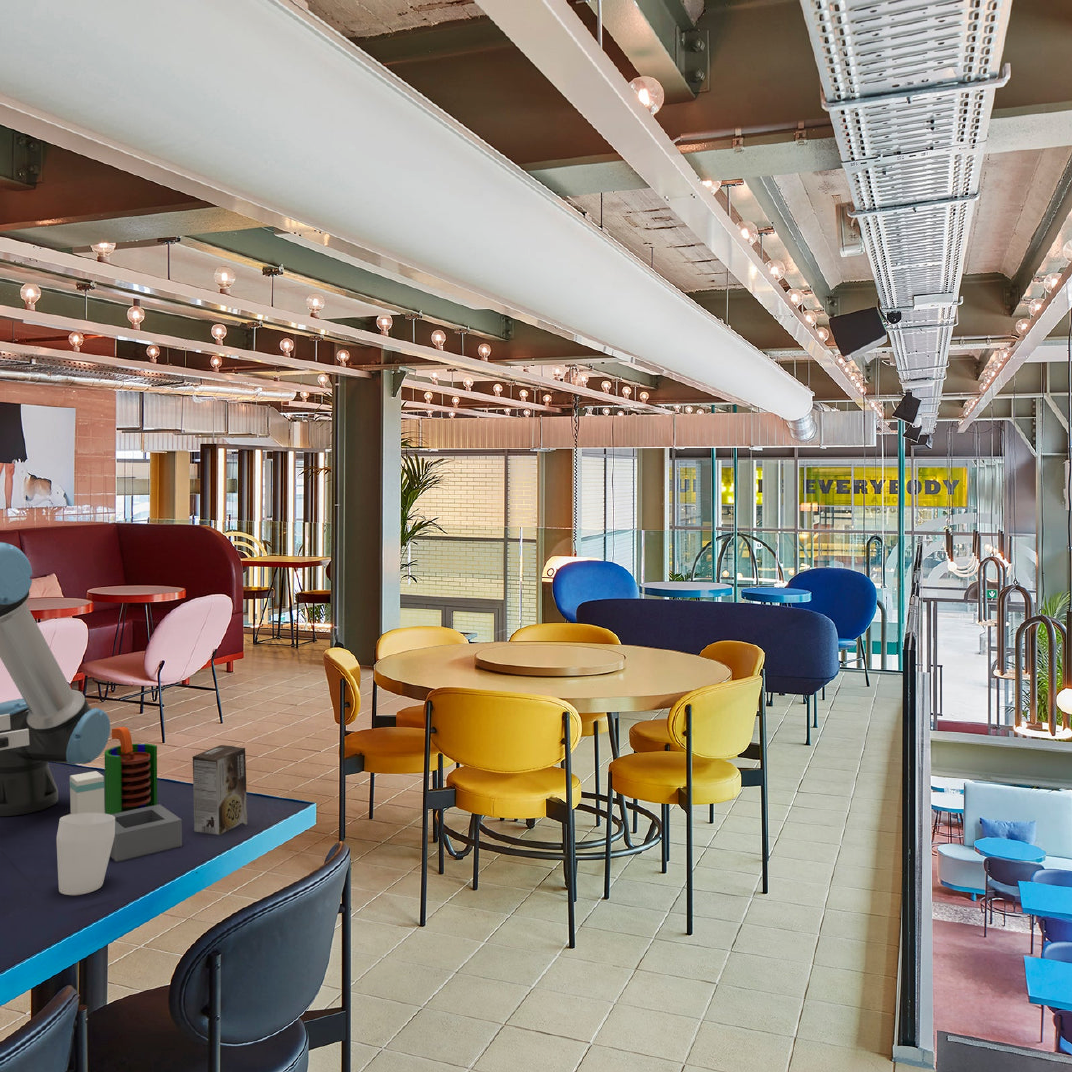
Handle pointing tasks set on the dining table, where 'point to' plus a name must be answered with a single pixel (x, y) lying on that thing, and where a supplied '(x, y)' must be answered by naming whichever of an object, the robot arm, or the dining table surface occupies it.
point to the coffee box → (219, 789)
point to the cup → (83, 851)
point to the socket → (145, 832)
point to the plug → (87, 793)
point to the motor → (129, 774)
